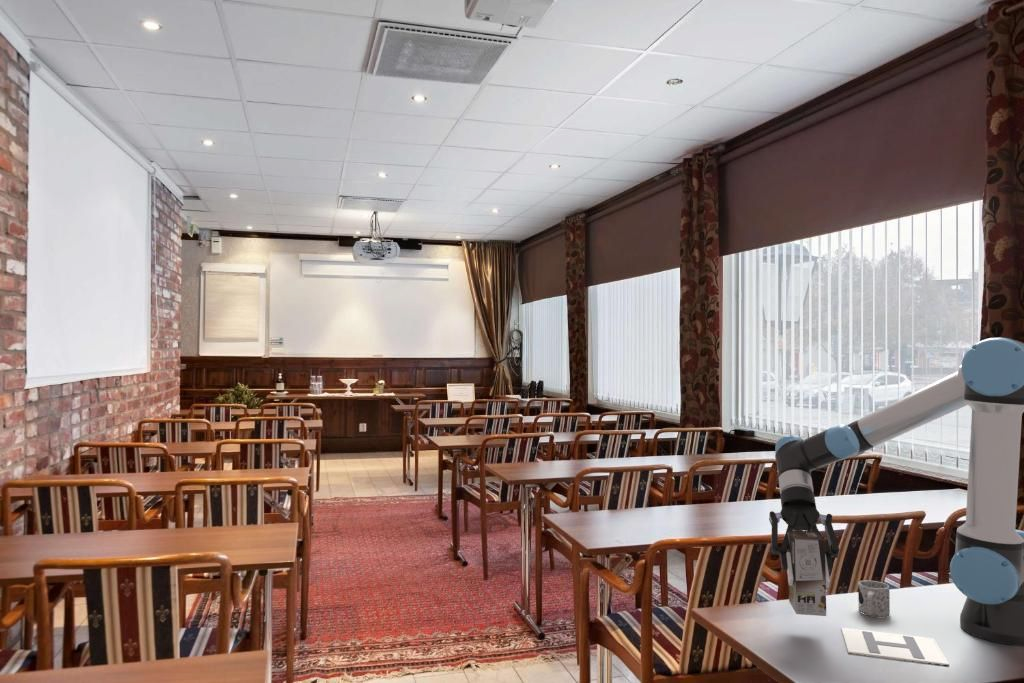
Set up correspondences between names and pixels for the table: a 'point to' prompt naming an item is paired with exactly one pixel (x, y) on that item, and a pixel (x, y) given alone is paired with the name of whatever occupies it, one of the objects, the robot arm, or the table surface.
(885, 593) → the mug
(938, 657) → the letter card
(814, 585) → the coffee box
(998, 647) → the table surface
